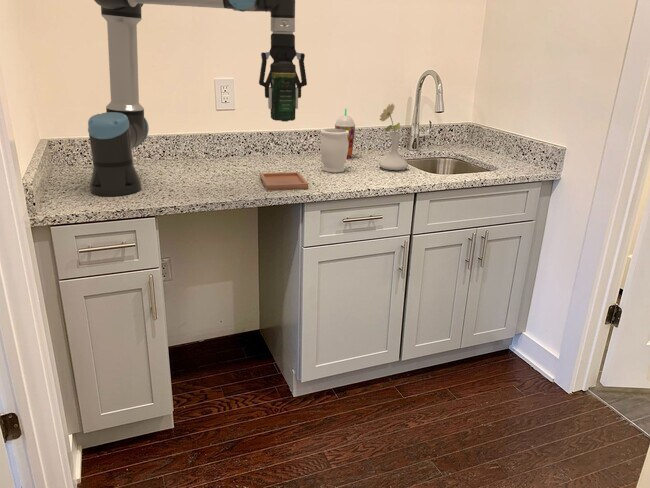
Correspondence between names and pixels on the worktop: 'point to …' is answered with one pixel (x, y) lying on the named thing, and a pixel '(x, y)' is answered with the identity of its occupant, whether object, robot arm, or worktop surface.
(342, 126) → the smoothie
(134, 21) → the robot arm
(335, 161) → the jar
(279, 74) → the coffee jar
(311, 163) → the worktop surface
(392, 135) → the flower in vase
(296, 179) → the tray
